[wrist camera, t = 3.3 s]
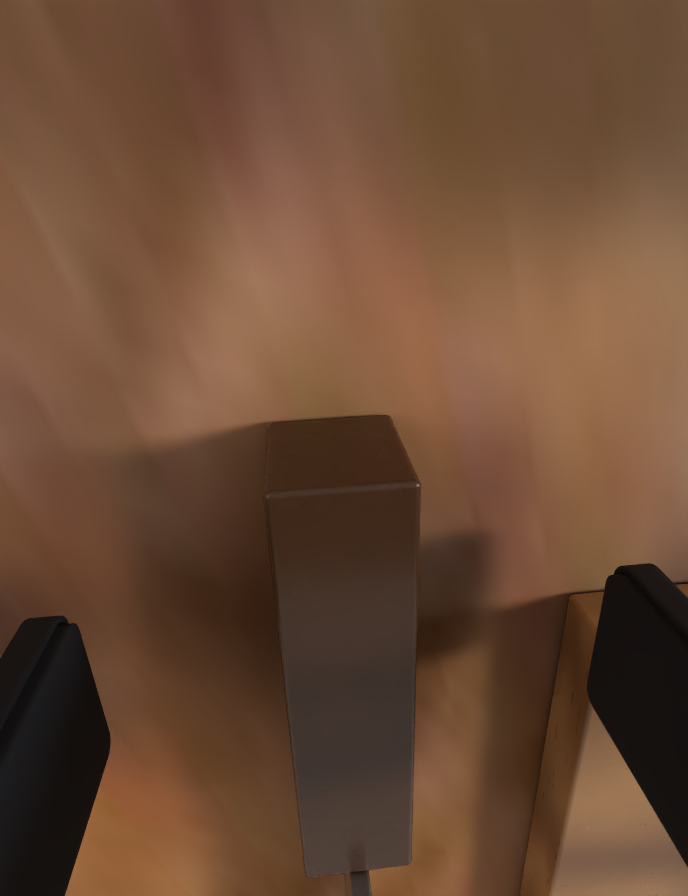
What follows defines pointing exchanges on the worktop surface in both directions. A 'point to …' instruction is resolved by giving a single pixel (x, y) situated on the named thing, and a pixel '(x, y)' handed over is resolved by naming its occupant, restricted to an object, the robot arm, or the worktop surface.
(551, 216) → the worktop surface
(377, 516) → the knife
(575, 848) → the cutting board
